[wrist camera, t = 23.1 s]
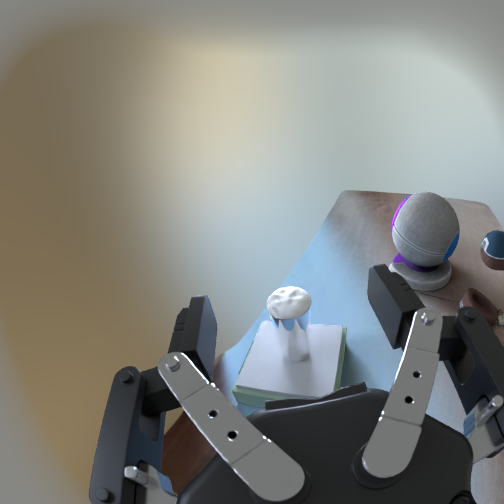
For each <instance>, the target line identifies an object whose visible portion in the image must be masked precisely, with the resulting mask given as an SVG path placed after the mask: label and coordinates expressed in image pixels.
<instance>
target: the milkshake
mask: <svg viewBox="0 0 504 504" xmlns="http://www.w3.org/2000/svg"><path fill="white" fill-rule="evenodd" d="M267 309H268V312H269V315H270V318H271V321H272V324H273V326H274V329H275V331H276V334H277V338H278V341H279V344H280V348H281V351H282V355H283V358H284V359H286V360H288V361H289V362H299V361H301V360H303V359H304V358H306V356H307V354H308V352H309V337H310V314H311V297H310V295H309V294H308V293H306V292H305V291H304V290H303V289H301V288H296V287H286V288H281V289H278V290H276V291H275V292H274V293H273V294H272V295H271V296H270V297H269V298H268V301H267Z"/></svg>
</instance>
